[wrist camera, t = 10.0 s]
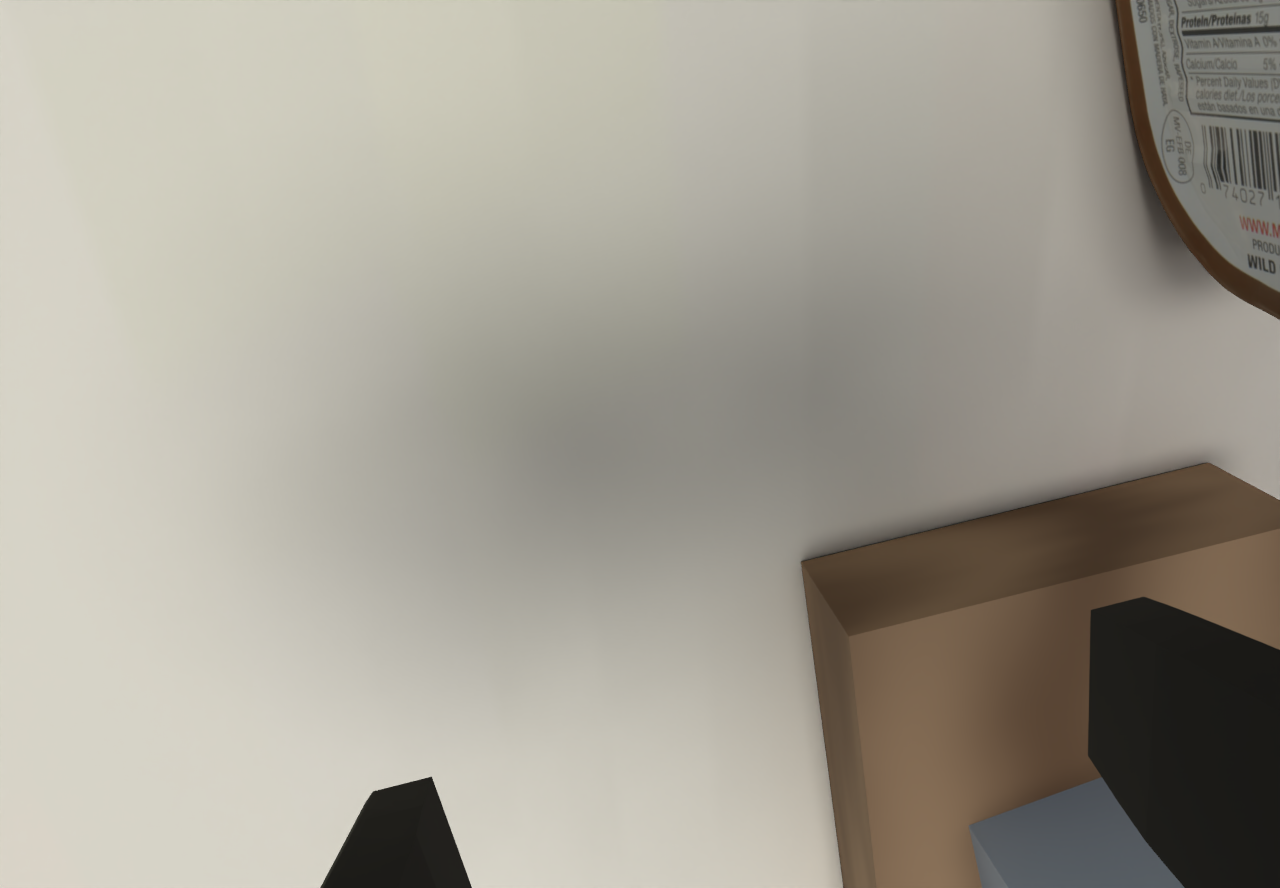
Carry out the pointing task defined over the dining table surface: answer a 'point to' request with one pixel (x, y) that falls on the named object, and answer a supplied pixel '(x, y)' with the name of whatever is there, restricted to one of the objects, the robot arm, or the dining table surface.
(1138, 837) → the block
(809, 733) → the dining table surface
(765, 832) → the dining table surface
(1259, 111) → the tin
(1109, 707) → the robot arm
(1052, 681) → the plinth
